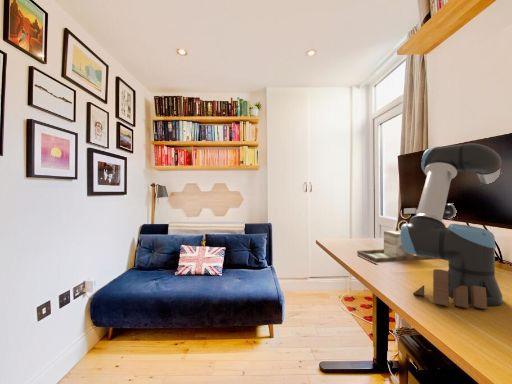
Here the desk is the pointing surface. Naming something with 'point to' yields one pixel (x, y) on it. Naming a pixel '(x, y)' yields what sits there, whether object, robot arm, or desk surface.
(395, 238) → the birch block
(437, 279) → the wooden block set
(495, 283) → the robot arm
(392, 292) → the desk surface
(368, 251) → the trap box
